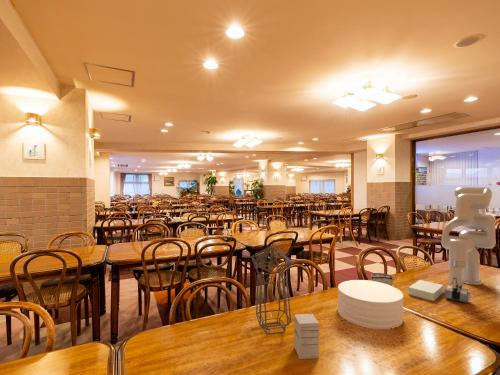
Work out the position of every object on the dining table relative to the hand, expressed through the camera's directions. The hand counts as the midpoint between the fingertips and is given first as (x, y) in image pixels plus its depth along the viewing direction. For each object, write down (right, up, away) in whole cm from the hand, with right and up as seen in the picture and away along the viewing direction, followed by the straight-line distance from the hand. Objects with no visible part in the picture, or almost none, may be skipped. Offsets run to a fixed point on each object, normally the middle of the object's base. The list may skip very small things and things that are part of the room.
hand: (457, 297), depth 151 cm
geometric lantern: (-99, -2, -30) cm, 104 cm away
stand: (-11, -1, +9) cm, 14 cm away
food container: (-35, -2, +11) cm, 37 cm away
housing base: (0, -1, 0) cm, 1 cm away
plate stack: (-53, -2, -16) cm, 55 cm away
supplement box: (-88, -3, -47) cm, 100 cm away
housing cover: (0, +3, 0) cm, 3 cm away
